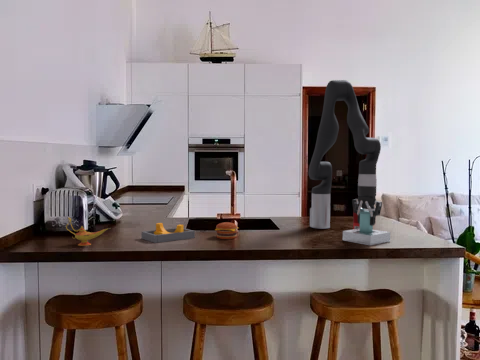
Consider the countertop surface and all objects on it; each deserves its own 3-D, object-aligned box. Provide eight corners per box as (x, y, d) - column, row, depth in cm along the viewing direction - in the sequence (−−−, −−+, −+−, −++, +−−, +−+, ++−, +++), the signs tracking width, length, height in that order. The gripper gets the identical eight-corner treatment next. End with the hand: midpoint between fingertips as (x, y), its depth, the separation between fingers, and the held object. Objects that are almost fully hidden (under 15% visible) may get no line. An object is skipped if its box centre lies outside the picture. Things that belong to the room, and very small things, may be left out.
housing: (342, 240, 193) (342, 231, 193) (362, 236, 202) (362, 227, 202) (370, 245, 182) (370, 235, 182) (390, 241, 191) (390, 232, 191)
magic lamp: (107, 246, 177) (107, 218, 176) (62, 246, 177) (62, 218, 177) (113, 243, 184) (113, 216, 183) (69, 242, 184) (69, 215, 184)
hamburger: (218, 235, 205) (218, 220, 204) (239, 236, 203) (239, 221, 202) (213, 238, 195) (213, 223, 195) (235, 239, 194) (235, 224, 193)
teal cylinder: (356, 234, 193) (357, 211, 192) (364, 233, 196) (365, 210, 195) (367, 236, 188) (368, 212, 188) (375, 235, 192) (375, 211, 191)
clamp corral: (141, 238, 194) (141, 231, 194) (180, 233, 207) (180, 227, 206) (155, 242, 185) (155, 235, 185) (194, 237, 197) (194, 230, 197)
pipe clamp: (154, 239, 195) (153, 224, 195) (158, 237, 199) (158, 222, 199) (179, 241, 191) (178, 226, 191) (183, 239, 195) (183, 224, 195)
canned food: (371, 234, 208) (371, 210, 208) (353, 233, 210) (353, 210, 209) (369, 231, 216) (370, 208, 215) (352, 231, 217) (353, 208, 217)
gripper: (347, 184, 194) (347, 223, 195) (376, 186, 183) (375, 227, 184) (358, 183, 199) (357, 221, 200) (387, 185, 188) (386, 225, 189)
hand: (366, 224), depth 192 cm, fingers closed on teal cylinder, 5 cm apart
